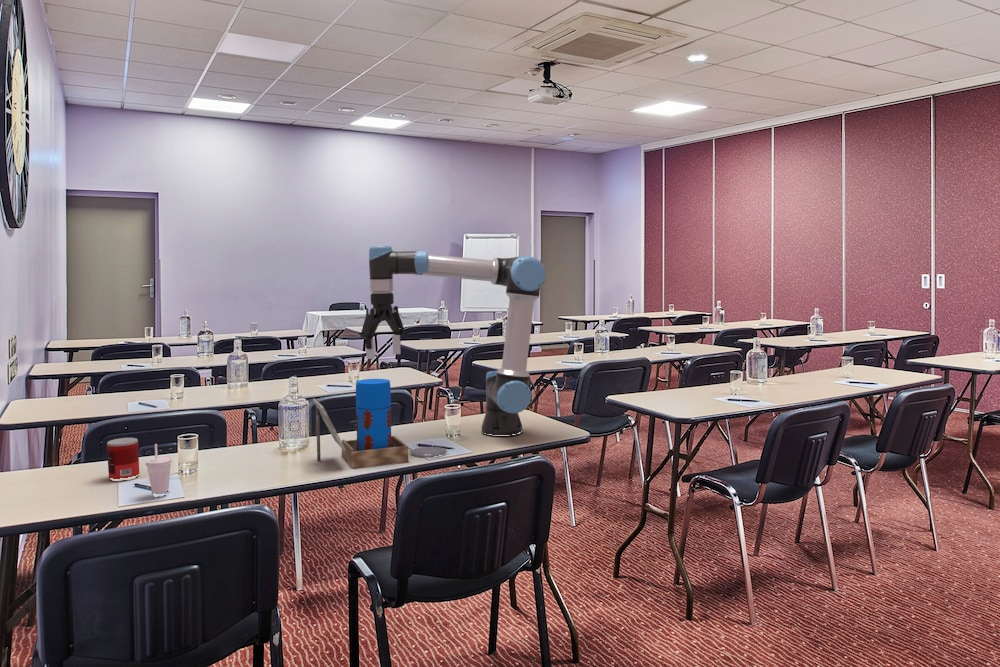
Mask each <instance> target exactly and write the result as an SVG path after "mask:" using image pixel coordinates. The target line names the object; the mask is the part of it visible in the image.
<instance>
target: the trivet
mask: <svg viewBox="0 0 1000 667" xmlns="http://www.w3.org/2000/svg"><path fill="white" fill-rule="evenodd" d="M446 452H447V453H448V450H447V449H446V448H444V447H439V446H423V447H422V446H420V447H417V448H413V449H411V450H410V451H409V455H410V456H412V457H414V458H418V459H419V458H421V459H424V458H423V457H434V456H439V455H443V454H445V453H446Z"/></svg>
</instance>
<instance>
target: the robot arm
mask: <svg viewBox="0 0 1000 667" xmlns="http://www.w3.org/2000/svg"><path fill="white" fill-rule="evenodd" d="M368 252H369V253H368V265H369V283H370V287H369V288H370V289H369V290H370V292H371V293H370V305H372V308H369V307H368V308H366V310H365V318H364V322H363V324H362V325H363V326H362V329H361V331H360V337H361V338H362V339H363V340H365V348H366V359H367V360H375V359H376V350H375V349H376V348H375V338H374V335H375V333H376V331H377V329H378V327H379V325H380V323H381V322H384V321H385V322H386V324H387V325H388V326H389V328H390V330H391V331H392V333H393V334H392V336H391V339H392V355H401V343H402V340H401V337H402V335H404V333H405V330H406V329H405V328H404V324H403V322H402V319H401V316H400V314H399V306H398V305H393V304H394V302H395V301H394V300H395V299H394V293H393V291H394V279H393V278H394V276H393V275H415V276H418V275H419V276H428V277H439V278H449V279H450V278H451V279H452V278H453V279H463V280H471V281H483V282H484V281H486V282H491V284H492V285H496V286H501V287H502V286H503V287H506V289H505V294H506V296H507V297H508V298H509V299H508V300H509V301H508V308H507V309H508V310H507V319H506V328H505V335H504V344H503V353H502V360H501V361H502V363H501V366H500V368H499V369H498V370H491V371H487V372H486V375H485V394H486V395H485V410H486V411H485V414H484V417H483V420H482V424H481V433H482V432H483V433H486V434H492V435H512V434H517V433H519V432H521V431H522V432H523V424H522V420H521V417H520V415H519V413H521V412H523V411H524V410H525V409H527V408H528V406H529V404H530V403H531V400H532V391H531V389H530V387H529V386H530V380H531V379H530V377H531V375H530V373H529V372H528V371H527V367H528V358H529V350H530V349H529V348H530V340H531V331H532V326H533V325H532V324H533V314H534V308H535V306H534V305H535V301H536V300H538V299H539V298H540V294H541V293H540V292H541V287H542V286H543V284H544V282H545V280H546V270H545V266H544V265H543V263H542V261H540V260H539V259H537V258H536V257H533V256H530V255H522V256H514V257H504V258H501V257H495V258H493V259H482V258H471V257H460V256H450V255H440V254H439V255H438V254H429V253H428V252H427V251H425V250H423V251H422V250H410V251H409V250H408V251H405V250H404V251H394V250H393V247H392V245H371V246H370V247H369V249H368Z"/></svg>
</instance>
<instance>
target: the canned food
mask: <svg viewBox="0 0 1000 667" xmlns="http://www.w3.org/2000/svg"><path fill="white" fill-rule="evenodd" d="M106 449H107V450H106V452H107V467H108V469H107V470H108V478H113V479H120V478H128V477H132V476H136V475H138V474H139V475H140V455H139V452H140V451H139V440H138V438H135V437H121V438H115V439H111V440H108V441H107V442H106Z"/></svg>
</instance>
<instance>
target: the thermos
mask: <svg viewBox="0 0 1000 667" xmlns="http://www.w3.org/2000/svg"><path fill="white" fill-rule="evenodd" d="M391 388H392V387H391V380H389V379H385V378H366V379H361V380H360V379H359V380H357V381H356V382H355V406H356V407H355V411H356V413H355V415H356V416H355V417H356V418H355V419H356V425H355V426H356V440H357V451H364V450H373V449H383V448H391V436H392V401H391V400H392V399H391V397H392V395H391V394H392V393H391V392H392V391H391Z"/></svg>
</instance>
